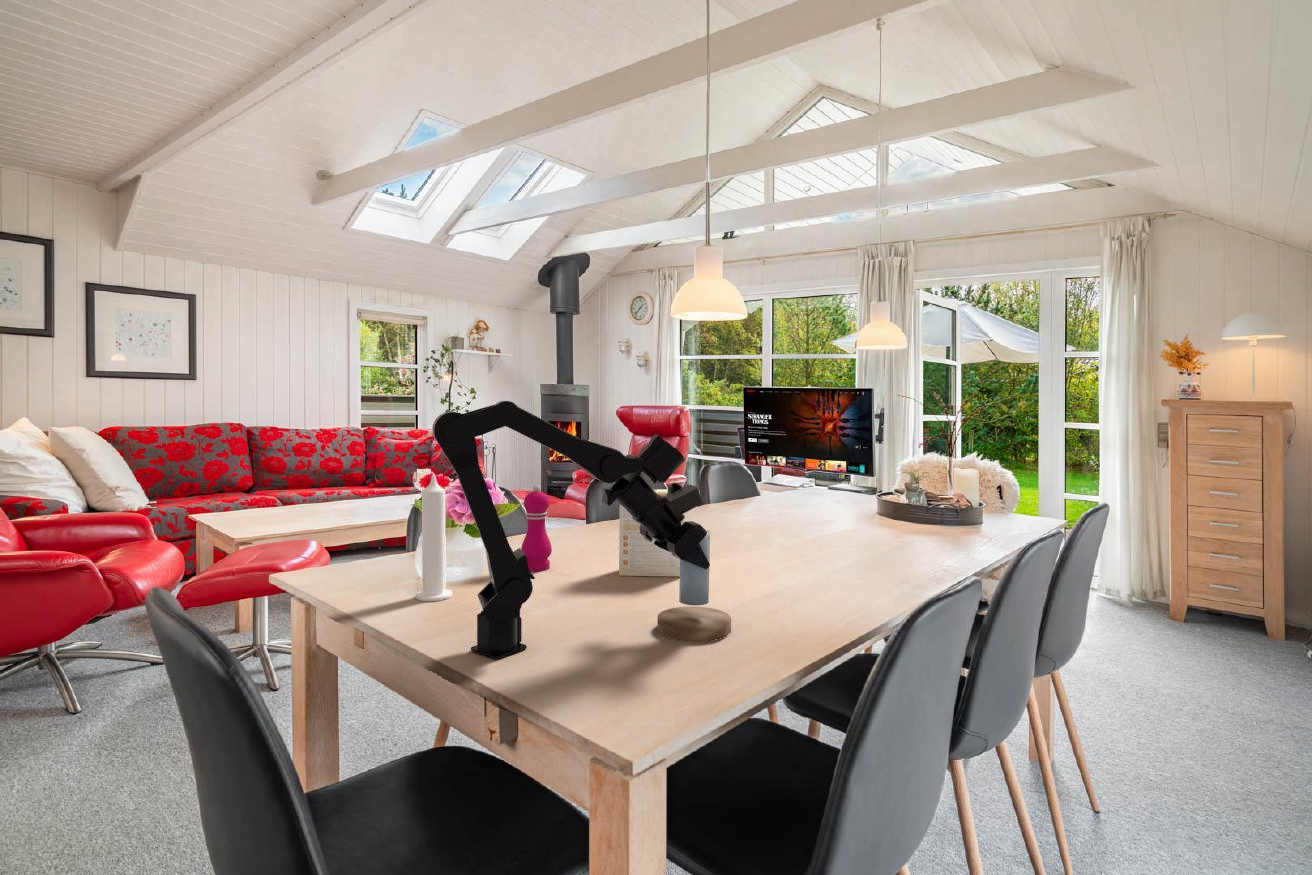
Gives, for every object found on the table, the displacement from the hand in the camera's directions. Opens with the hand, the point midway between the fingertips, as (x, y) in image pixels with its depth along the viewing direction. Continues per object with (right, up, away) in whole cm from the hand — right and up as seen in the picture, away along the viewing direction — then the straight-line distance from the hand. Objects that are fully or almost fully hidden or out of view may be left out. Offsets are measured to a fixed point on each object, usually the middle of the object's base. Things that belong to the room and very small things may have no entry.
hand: (701, 563), depth 124 cm
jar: (-1, -7, 0) cm, 7 cm away
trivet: (-1, -12, 0) cm, 12 cm away
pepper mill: (-37, -9, +44) cm, 58 cm away
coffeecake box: (-9, -10, +40) cm, 43 cm away
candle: (-53, -10, +19) cm, 57 cm away
